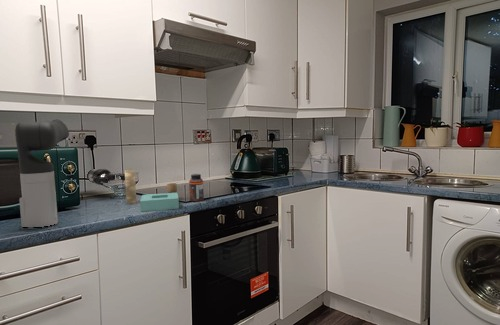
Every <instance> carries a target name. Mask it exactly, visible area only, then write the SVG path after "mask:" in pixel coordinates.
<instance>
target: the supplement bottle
mask: <svg viewBox="0 0 500 325" xmlns="http://www.w3.org/2000/svg"><path fill="white" fill-rule="evenodd" d="M190 177H191V179H189V181H188V184H189V185H188V188H189V189H188V190H189V201H190V202H193V201H195V202H203V201H204V199H205V198H204V196H205V194H204V180H203V179H202V178H201V173H191V176H190ZM195 202H194V203H195Z"/></svg>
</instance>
